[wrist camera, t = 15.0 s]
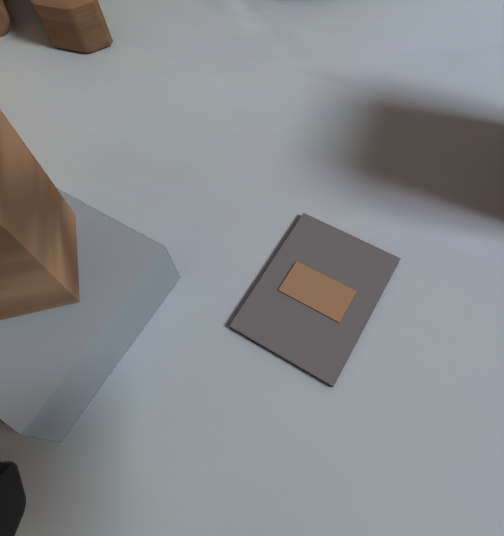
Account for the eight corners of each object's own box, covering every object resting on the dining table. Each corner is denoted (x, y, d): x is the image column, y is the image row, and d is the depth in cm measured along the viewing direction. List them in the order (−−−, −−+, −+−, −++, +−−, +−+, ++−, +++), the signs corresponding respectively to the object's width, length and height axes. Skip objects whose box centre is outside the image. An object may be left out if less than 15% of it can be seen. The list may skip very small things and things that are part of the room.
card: (332, 387, 21) (333, 385, 21) (229, 327, 23) (229, 325, 22) (399, 261, 24) (401, 257, 24) (303, 215, 26) (303, 211, 25)
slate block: (64, 442, 21) (20, 435, 18) (-70, 342, 24) (-131, 317, 20) (182, 280, 25) (165, 246, 21) (53, 209, 27) (20, 168, 24)
